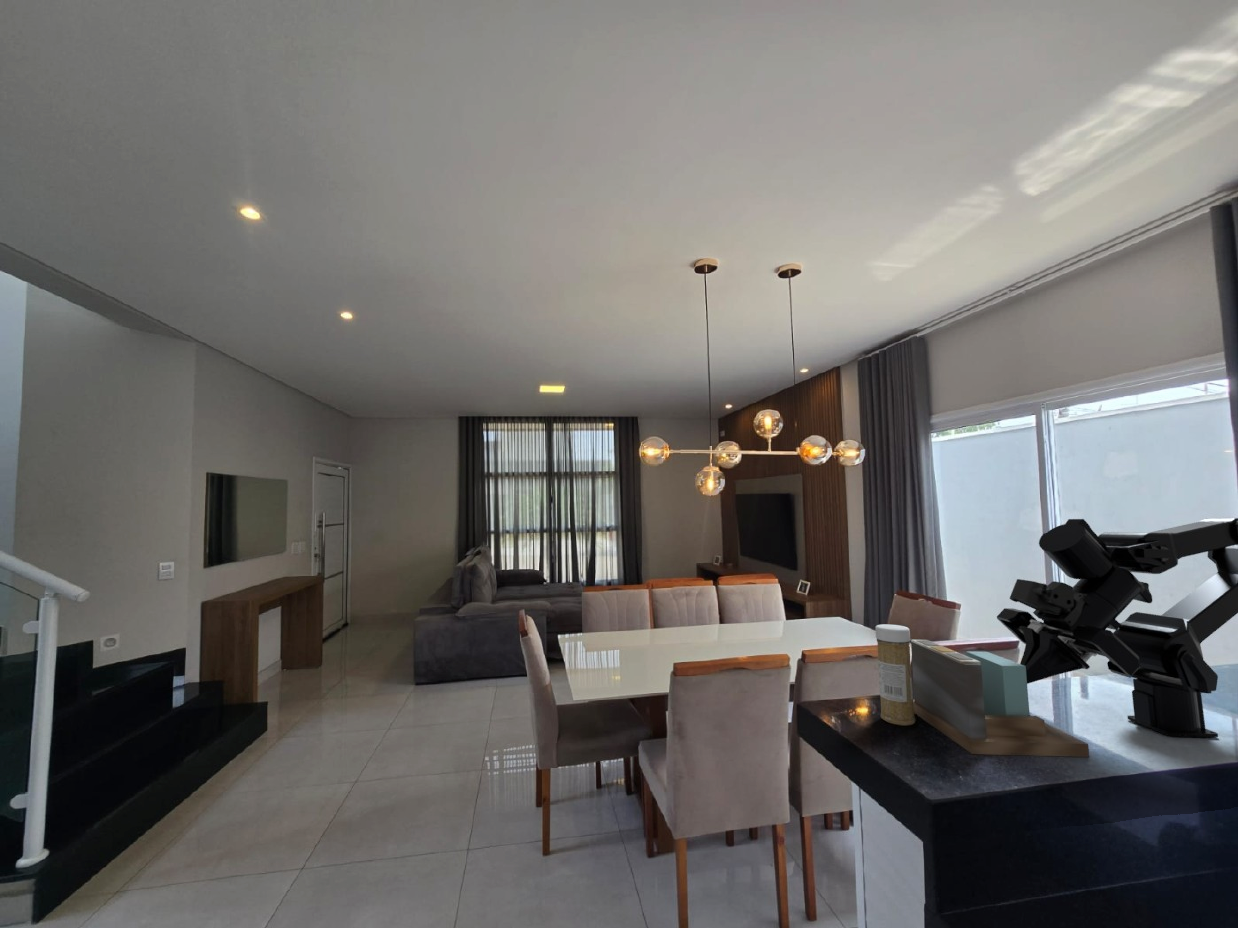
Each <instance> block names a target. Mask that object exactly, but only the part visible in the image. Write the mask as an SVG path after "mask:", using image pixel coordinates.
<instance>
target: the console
mask: <svg viewBox="0 0 1238 928" xmlns="http://www.w3.org/2000/svg"><path fill="white" fill-rule="evenodd" d="M910 648H911V650H910V651H911V664H912V665H911V667H912V684H913V706H914V708H913V709H914V715H916V714H917V715H916V716H917V717H919V718H920V719H922V720H923V721H925V723H928V724H929V725H930V726H931V727H933V728H935V729H936V730H937V731H939V732H940V733H942V734H943V735H944V736H946V737H948V738H949V739H951V741H953V742H954V743H956V744H958V745H959V746H960V747H962V748H963V749H965V750H966V751H967V752H969V753H970V754H971V755H991V756H992V755H993V756H994V755H996V756H998V755H1002V756H1036V757H1038V756H1039V757H1043V756H1044V757H1081V758H1083V757H1085V758H1089V757H1090V751H1089V750H1090V749H1089V743H1087V742H1085V741H1083V740H1081V739H1080V738H1077V737H1075V736H1073V735H1071V734H1069V733H1067V732H1065V731H1063V730H1061V729H1059V728H1057V727H1055V726H1053V725H1051V724H1049V723H1047V722H1046V721H1045V719H1043V718H1041V717H1039V716H1037V715H1031V714H1030V716H1014V715H985V708H984V695H983V682H982V669H981V665H980V661H977V660H975V659H973V658H970V657H968V656H966V654H963V653H960V652H957V651H956V650H953V649H950V648H948V647H946V646H943V645H941V644H938V643H936V642H933V641H931V640H929V639H910Z"/></svg>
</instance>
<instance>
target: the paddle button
mask: <svg viewBox="0 0 1238 928" xmlns="http://www.w3.org/2000/svg"><path fill="white" fill-rule="evenodd" d="M965 656H968V657H970V658H973V659H975V660H977V661H980V665H981V669H982V682H983V695H984V708H985V715H1014V716H1030V715H1031V714H1030V704H1029V692H1028V691H1029V689H1028V684H1027V677H1026V666H1024V665H1021V664H1020V663H1017V662H1016V661H1013V660H1010V659H1007V658H1005V657H1002V656H999V655H997V654H994V653H993V652H992V653H991V652H988V651H972V650H971V651H965Z"/></svg>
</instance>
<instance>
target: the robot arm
mask: <svg viewBox="0 0 1238 928" xmlns="http://www.w3.org/2000/svg"><path fill="white" fill-rule="evenodd" d="M1038 540H1039V541H1038V546H1039V547H1040V548H1041V550H1042V551H1043V552H1044V553H1045V554H1046V555H1047V556H1048V557H1049V558H1050V559H1051V561H1053V563H1055V565H1056V566H1057V567H1058V568H1059V569H1060V571H1062V572H1063V573H1064V574H1065V575H1066V576H1067V577H1069V578H1070V579H1074V580H1078V581H1077V582H1075V584H1074V585H1073V586H1071V585H1070V584H1067V583H1065V582H1062V581H1051V582H1050V583H1049V584H1046V583H1042V582H1037V581H1033V580H1026V579H1020V578H1017V579H1016V581H1015V583H1014V586H1013V588H1012V591H1011V594H1010V596H1009V600H1010V601H1013V602H1015V603H1020V604H1022V605H1024V606H1026V607H1029V608H1032V609H1034V611H1032V614H1034V616H1036V617H1037V618H1038V619H1039V620H1038V619H1036V618H1035V617H1034V616H1033V615H1032V614H1031V613H1030V612H1029V611H1025V610H1022V609H1021V610H1020V609H1018V608H1017V609H1016V608H1006V607H1005V608H1003V609H1002V610H1001V611H1000V613H998V615H997V616H996V619H997V620H998V622H1000V623H1001V624H1002V625H1003V626H1004V627H1005V628H1007V630H1008V631H1010V632H1011V633H1012V634H1013V635H1014V636H1015V637H1016V638H1017V639H1018V640H1019V641H1020V642H1022V644H1024V645H1025V647H1024V651H1023V653H1022V658H1021V660H1020V663H1019V664H1021V665H1024V666H1026V677H1027V685H1028V684H1031V683H1034V682H1037V681H1041V680H1045V679H1047V678H1048V679H1049V678H1051V677H1054V676H1058V675H1062V674H1065V673H1070V672H1074V671H1078V670H1081V669H1083V670H1084V669H1085V670H1089V669H1090V668H1091V667H1090V665H1089V663H1087V661H1089V659H1090V658H1091V657H1096V656H1097V655H1099V656H1102V657H1105V658H1107V659H1108V662H1106V663H1107V668H1108V670H1109V671H1110V672H1112V674H1113V673H1114V674H1117V675H1120V676H1123V677H1126V678H1129V679H1131V678H1132V679H1133V681H1132V683H1133V690H1131V697H1132V706H1133V715H1127V716H1126V717H1127V720H1129V721H1132V722H1134V723H1136V724H1138V725H1141V726H1144V727H1146V728H1149V729H1151V730H1152V731H1153V730H1154V731H1156V732H1158V733H1161V734H1163V735H1166V736H1170V737H1193V738H1196V737H1198V738H1199V737H1202V738H1218V737H1219V733H1218V732H1216V731H1213V730H1211V729H1208V728H1206V723H1205V722H1206V721H1205V715H1204V714H1205V713H1204V706H1203V698H1202V697H1203V696H1202V694H1212V692H1216V690H1217V687H1218V686H1217V685H1218V678H1219V676H1218V674H1217V672H1215V670H1213V669H1212V668H1211V666H1210V665H1209V664H1208V663H1207V662H1206V661H1205V660H1204V655H1203V650H1202V647H1201V644H1202V643H1203V642H1204V641H1205V640H1206V639H1207V638H1210V636H1211V635H1213V634H1214V633H1215V632H1216V631H1217V630H1219V629H1220V628H1221V627H1223V625H1225V624H1227V623H1228V622H1229V621H1230V620H1231V619H1232V618H1234V617H1235V616H1236V615H1237V614H1238V517H1234V518H1233V517H1228V518H1227V517H1225V518H1224V517H1219V518H1217V517H1216V518H1215V517H1214V518H1213V517H1212V518H1204V519H1202V520H1201V519H1200V520H1198V521H1196V522H1191V523H1188V524H1182V525H1177V526H1172V527H1168V528H1163V529H1159V530H1154V531H1150V532H1131V531H1130V532H1129V531H1128V532H1123V531H1122V532H1121V531H1120V532H1119V531H1117V532H1115V531H1114V532H1113V531H1111V532H1108V531H1107V532H1106V531H1105V532H1102V533H1100V534H1099V535H1097V534H1096V532H1095V531H1094V530H1093V529H1092V528H1091V526H1090V524H1089V523H1088V522H1087V521H1086V520H1085V519H1084V518H1069V519H1067V521H1066V522H1065V523H1063V524H1060V525H1058V526H1056V527H1053V528H1051V529H1050V530H1048V531H1047V532H1044V533H1043V534H1042V535H1041V536H1040V538H1039V539H1038ZM1202 553H1207V558H1208V559H1209V560H1210V561H1211V562H1212V563H1214V564H1215V566H1216V570H1217V572H1216V573H1215V574H1213V575H1212V576H1211V577H1210V578H1208V579H1207V580H1205V581H1204V582H1203V583H1201V585H1199V586H1198V587H1197V588H1195V589H1194V590H1193V591H1191V592H1190V593H1189V594H1187V595H1186V596H1185V597H1183V598H1182V599H1181V600H1179V601H1178V602H1176V603H1175V604H1174V605H1173V606H1172V607H1171V608H1169V609H1168V610H1167V611H1165V612H1164V613H1163V614H1154V613H1147V612H1139V611H1136V612H1133V613H1131V614H1129V616H1128V617H1127V618H1126V619H1125V620H1124V621H1122V622H1119V621H1118V620H1117V617H1118V616H1120V615H1121V613H1122V612H1123V611H1124V610H1125V609H1126V608H1127V607H1128V606H1129V605H1130V604H1131V603H1132V601H1134V600H1135V601H1139V602H1143V603H1146V604H1152V603H1153V595H1152V594H1151V591H1150V588H1149V587H1150V585H1149V583H1147V582H1146V581H1145V582H1144V581H1140V580H1139V579H1138V578H1137V577H1136V576H1135V575H1134V574H1133V573H1135V574H1136V573H1137V574H1147V575H1148V574H1149V575H1151V574H1152V575H1161V574H1163V573H1164V572H1167V571H1169V570H1171V569H1173V568H1175V567H1177V566H1178V564H1179V560H1180V559H1183V558H1185V557H1190V556H1194V555H1198V554H1202ZM1040 620H1041V621H1040ZM1109 629H1110V630H1109ZM1112 630H1114V631H1113V632H1112Z"/></svg>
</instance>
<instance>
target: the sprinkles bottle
mask: <svg viewBox="0 0 1238 928" xmlns="http://www.w3.org/2000/svg"><path fill="white" fill-rule="evenodd" d="M874 629H875V638H876V642H877V663H878V664H877V665H878V684H879V687H878V688H879V696H880V710H881V712H880V718H881V719H882V720H883V721H885V722H887V723H889V724H892V725H897V726H905V727H906V726H912V725H915V722H916V718H915V713H914V709H913V708H914V706H913V699H914V683H913V676H912V665H911V664H912V661H911V654H910V653H911V652H910V651H911V650H910V645H911V632H910V631H911V630H910V628H909V627H907V626H904V625H900V624H890V623H889V624H887V623H886V624H884V623H883V624H877V625H876V626H875V627H874Z"/></svg>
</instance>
